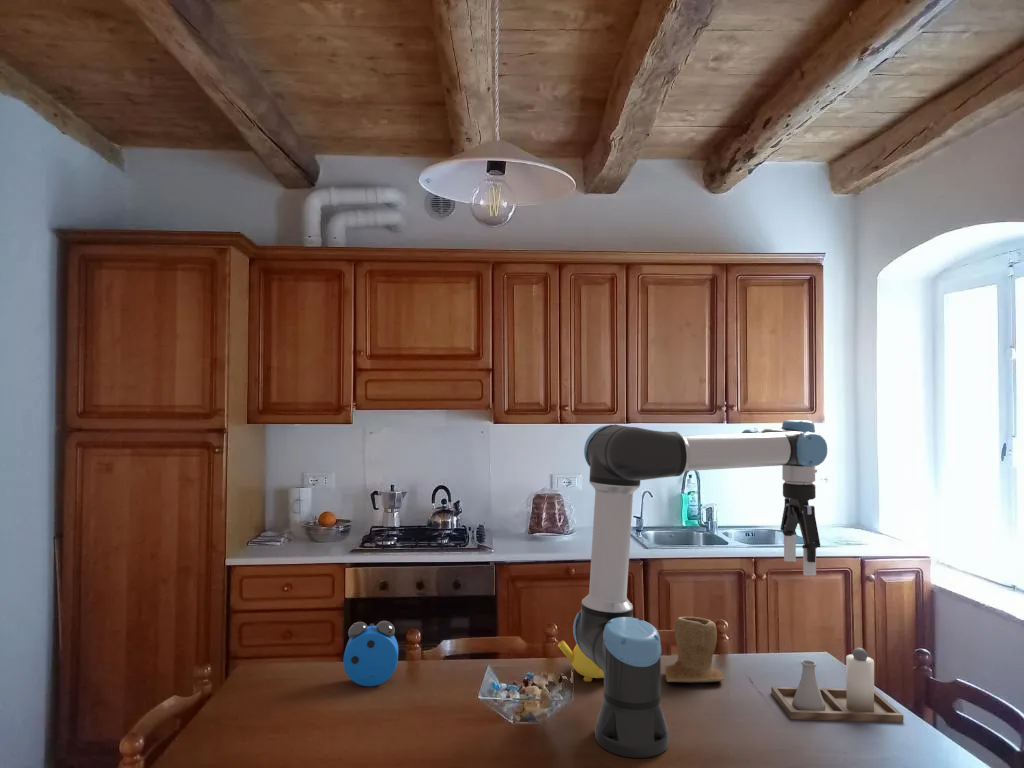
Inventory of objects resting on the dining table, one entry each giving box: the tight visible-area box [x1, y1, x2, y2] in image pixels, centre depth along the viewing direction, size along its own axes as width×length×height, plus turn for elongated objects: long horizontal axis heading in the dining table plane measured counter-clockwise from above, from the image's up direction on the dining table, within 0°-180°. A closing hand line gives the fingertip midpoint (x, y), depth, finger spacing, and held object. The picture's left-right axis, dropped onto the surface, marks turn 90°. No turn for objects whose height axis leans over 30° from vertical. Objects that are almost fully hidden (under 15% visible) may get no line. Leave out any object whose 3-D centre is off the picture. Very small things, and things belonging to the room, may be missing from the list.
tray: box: [770, 686, 904, 723], centre depth 155 cm, size 24×13×2 cm, turn 87°
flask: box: [792, 659, 826, 711], centre depth 155 cm, size 7×7×10 cm
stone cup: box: [664, 616, 724, 683], centre depth 172 cm, size 15×12×15 cm
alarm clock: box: [342, 620, 399, 687], centre depth 168 cm, size 13×6×15 cm, turn 98°
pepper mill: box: [845, 647, 875, 712], centre depth 154 cm, size 6×6×14 cm
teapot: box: [557, 640, 604, 683], centre depth 174 cm, size 14×14×11 cm
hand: (799, 568), depth 168 cm, fingers open, 13 cm apart
